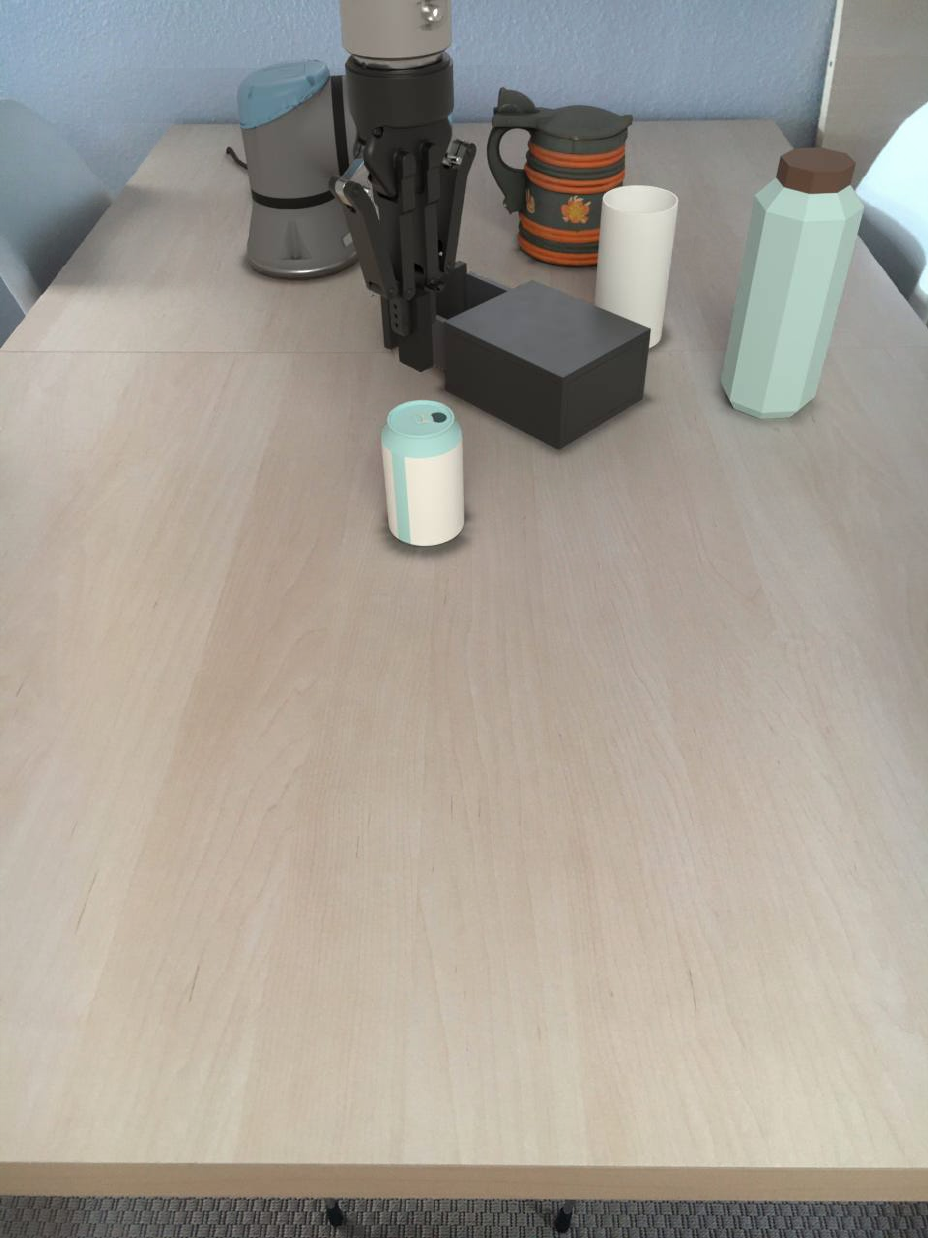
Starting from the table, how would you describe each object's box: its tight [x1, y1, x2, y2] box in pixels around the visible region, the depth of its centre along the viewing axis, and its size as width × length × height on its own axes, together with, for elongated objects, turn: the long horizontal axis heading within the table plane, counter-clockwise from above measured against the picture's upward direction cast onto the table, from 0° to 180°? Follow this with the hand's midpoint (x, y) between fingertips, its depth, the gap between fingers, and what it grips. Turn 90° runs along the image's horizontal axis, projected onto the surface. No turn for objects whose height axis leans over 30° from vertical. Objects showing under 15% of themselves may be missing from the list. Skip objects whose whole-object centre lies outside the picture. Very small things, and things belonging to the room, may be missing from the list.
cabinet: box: [444, 279, 651, 451], centre depth 106 cm, size 17×14×8 cm
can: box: [380, 399, 465, 547], centre depth 88 cm, size 7×7×12 cm
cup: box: [593, 184, 679, 349], centre depth 113 cm, size 8×8×16 cm
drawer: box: [364, 260, 512, 371], centre depth 114 cm, size 22×13×6 cm, turn 44°
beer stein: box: [486, 86, 634, 268], centre depth 130 cm, size 19×15×20 cm
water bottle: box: [720, 147, 865, 420], centre depth 99 cm, size 10×10×25 cm
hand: (416, 363), depth 84 cm, fingers closed
